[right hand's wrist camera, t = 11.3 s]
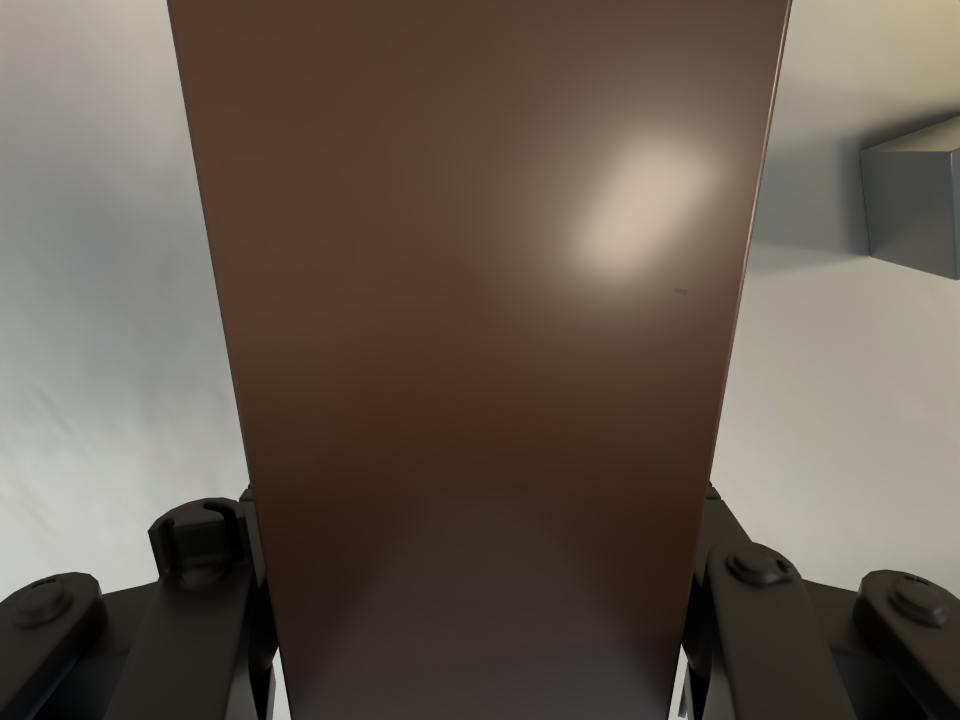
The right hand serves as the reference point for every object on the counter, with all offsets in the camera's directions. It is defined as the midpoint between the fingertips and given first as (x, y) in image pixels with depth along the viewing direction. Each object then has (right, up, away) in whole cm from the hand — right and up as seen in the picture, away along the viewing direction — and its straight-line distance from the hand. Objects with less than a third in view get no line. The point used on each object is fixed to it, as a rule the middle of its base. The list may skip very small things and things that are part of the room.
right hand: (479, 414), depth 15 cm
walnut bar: (0, +9, -3) cm, 10 cm away
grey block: (+20, +9, +10) cm, 24 cm away
